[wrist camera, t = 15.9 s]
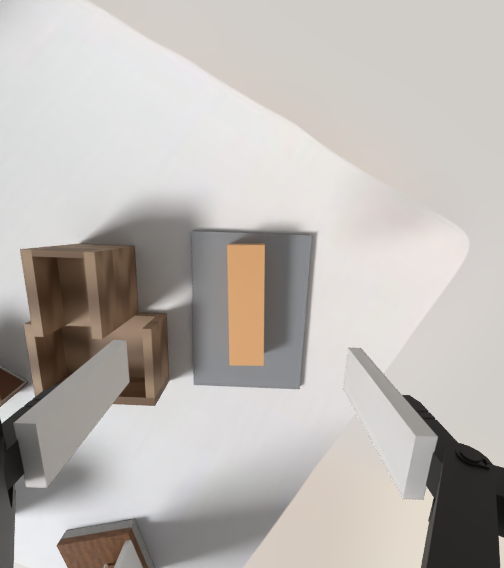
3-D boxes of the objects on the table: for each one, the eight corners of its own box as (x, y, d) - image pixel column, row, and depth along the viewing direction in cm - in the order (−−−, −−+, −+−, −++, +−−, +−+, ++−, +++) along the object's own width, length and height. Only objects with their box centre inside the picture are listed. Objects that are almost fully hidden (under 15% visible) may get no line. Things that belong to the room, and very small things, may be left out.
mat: (192, 230, 31) (191, 231, 31) (311, 235, 31) (312, 235, 30) (194, 382, 35) (193, 384, 35) (298, 386, 35) (299, 389, 35)
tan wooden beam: (229, 243, 31) (227, 245, 28) (264, 243, 31) (264, 245, 28) (231, 353, 34) (229, 365, 31) (262, 353, 34) (263, 365, 31)
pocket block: (48, 242, 32) (-20, 248, 24) (164, 246, 32) (133, 253, 24) (66, 376, 36) (12, 419, 28) (168, 381, 36) (144, 424, 28)
